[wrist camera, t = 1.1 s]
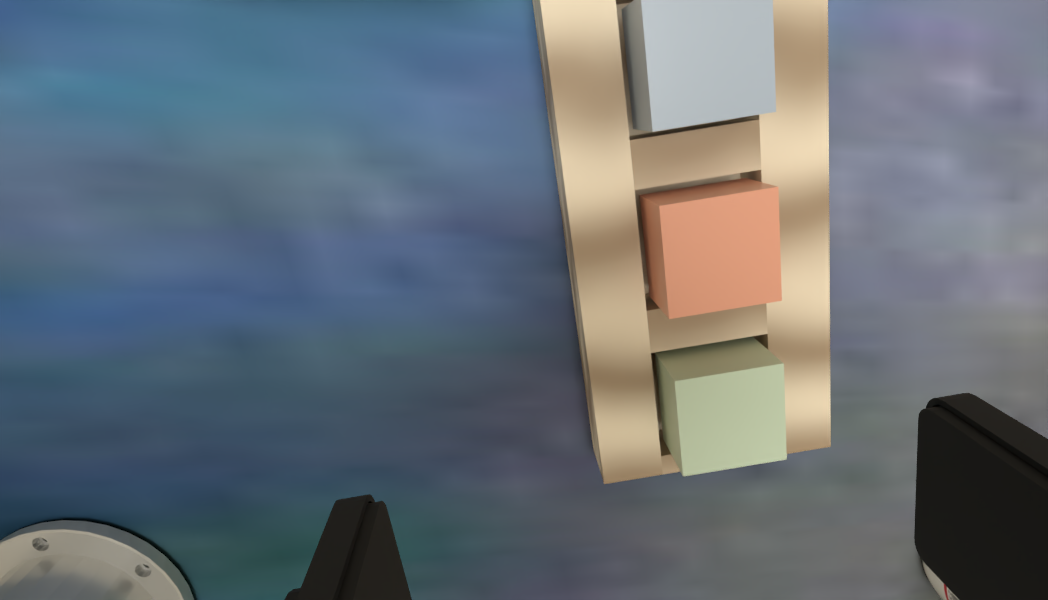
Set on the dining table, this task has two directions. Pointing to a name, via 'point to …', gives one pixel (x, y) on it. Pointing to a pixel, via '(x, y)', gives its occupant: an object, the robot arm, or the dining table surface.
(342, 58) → the dining table surface
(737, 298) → the terracotta button
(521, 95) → the dining table surface
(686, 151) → the button panel
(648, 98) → the slate button
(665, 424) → the sage button
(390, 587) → the robot arm
